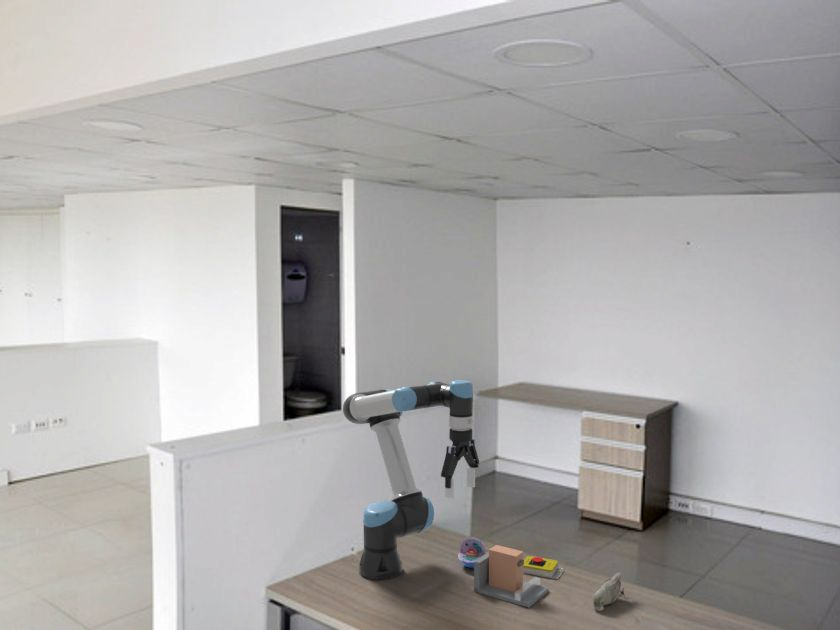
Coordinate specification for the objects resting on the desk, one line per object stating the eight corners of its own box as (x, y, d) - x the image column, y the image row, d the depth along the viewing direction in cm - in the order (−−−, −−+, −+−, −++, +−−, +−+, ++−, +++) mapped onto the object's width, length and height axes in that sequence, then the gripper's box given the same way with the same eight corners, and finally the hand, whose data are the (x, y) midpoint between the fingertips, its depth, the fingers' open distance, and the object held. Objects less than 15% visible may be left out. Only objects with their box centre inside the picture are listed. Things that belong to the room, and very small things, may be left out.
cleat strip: (514, 599, 231) (514, 592, 231) (534, 583, 242) (534, 576, 242) (520, 601, 230) (520, 593, 230) (540, 585, 241) (540, 578, 241)
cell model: (454, 571, 255) (454, 544, 255) (462, 557, 267) (462, 532, 266) (482, 574, 253) (482, 547, 252) (489, 560, 264) (489, 535, 263)
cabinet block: (488, 585, 241) (489, 549, 241) (496, 579, 245) (496, 544, 245) (518, 593, 235) (518, 557, 234) (525, 587, 239) (525, 552, 238)
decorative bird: (587, 609, 227) (588, 586, 226) (611, 592, 239) (612, 570, 239) (603, 615, 223) (604, 591, 223) (627, 597, 235) (627, 575, 235)
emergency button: (523, 551, 263) (564, 558, 257) (523, 563, 263) (564, 570, 257) (515, 561, 254) (558, 568, 248) (515, 573, 255) (558, 580, 249)
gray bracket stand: (473, 591, 240) (474, 561, 239) (494, 576, 251) (495, 547, 250) (529, 607, 228) (529, 576, 227) (548, 591, 239) (548, 561, 239)
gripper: (450, 437, 226) (449, 504, 227) (489, 422, 246) (489, 484, 248) (430, 434, 230) (429, 499, 231) (470, 419, 250) (469, 480, 252)
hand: (460, 492), depth 240 cm, fingers open, 13 cm apart
